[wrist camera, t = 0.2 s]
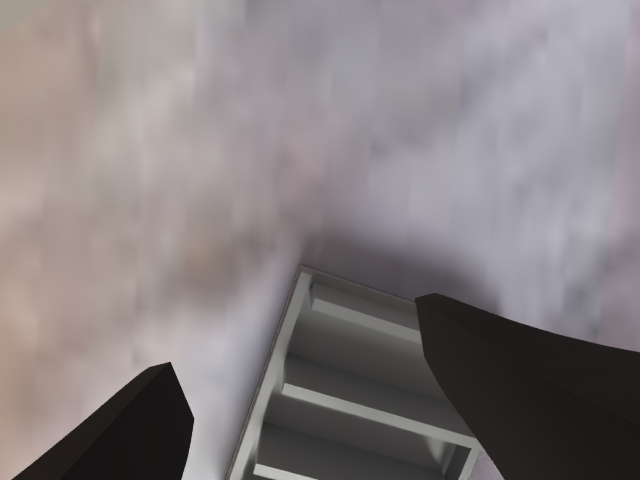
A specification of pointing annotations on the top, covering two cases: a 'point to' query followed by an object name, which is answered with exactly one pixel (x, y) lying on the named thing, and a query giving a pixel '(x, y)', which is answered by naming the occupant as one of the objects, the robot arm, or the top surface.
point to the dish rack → (350, 394)
